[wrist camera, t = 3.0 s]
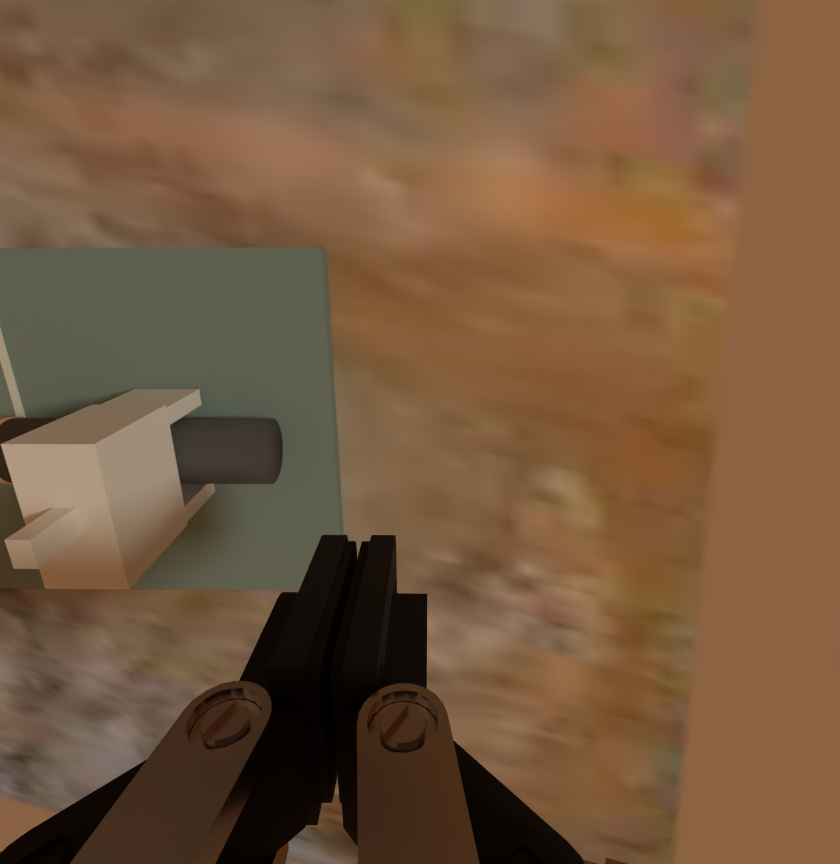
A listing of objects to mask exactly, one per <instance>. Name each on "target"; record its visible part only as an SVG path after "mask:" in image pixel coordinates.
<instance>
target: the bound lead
mask: <svg viewBox="0 0 840 864" xmlns="http://www.w3.org/2000/svg"><path fill="white" fill-rule="evenodd" d="M58 419H60V418H24V417H2V418H0V484H13V483H12V480H11V476H10V473H9V470H8V467H7V463H6V460H5V457H4V454H3V450H2V447H1V444H2V443H4V442H6V441H9V440H11V439H13V438H16V437H18V436H20V435H23V434H25V433H27V432H30V431H32V430H34V429H37V428H39V427H41V426H44V425H46V424H48V423H51V422H53V421H55V420H58ZM170 430H171V435H172V441H173V446H174V452H175V457H176V463H177V468H178V474H179V479H180V484H274V483H275V482H276V481H277V479H278V477H279V474H280V470H281V465H282V456H283V443H282V434H281V430H280V426H279V424H278V422H277V421H276V419H274V418H180V419H179V420H177V421H175V422H174V423H172V424H171V425H170Z"/></svg>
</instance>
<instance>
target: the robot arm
mask: <svg viewBox="0 0 840 864" xmlns="http://www.w3.org/2000/svg"><path fill="white" fill-rule="evenodd" d="M337 774H338V785H339V799H340V803H342V813H343V826H344V829H345V830H346V832H347V833H348V834H349V836H350V837H351V838H352V840H353V841H354V842H355V844H356V845H357V846H358V864H597V863H593V862H590V861H586V860H583V859H582V857H581V856H580V855H579V854H578V853H577V852H576V851H575V849H574V848H573V847H572V846H571V845H570V844H569V843H568V842H567V841H566V840H565V839H564V838H563V837H562V836H561V835H560V834H558V833H557V832H556V831H555V830H554V829H553V828H552V827H550V826H549V825H548V824H547V823H546V822H545V821H544V820H543V819H541V818H540V817H539V816H538V815H537V814H536V813H535V812H534V811H532V810H531V809H530V808H529V807H528V806H527V805H526V804H525V803H523V802H522V801H521V800H520V799H519V798H518V797H517V796H516V795H514V794H513V793H512V792H511V791H510V790H509V789H508V788H507V787H505V786H504V785H503V784H502V783H501V782H500V781H499V780H497V779H496V778H495V777H494V776H493V775H492V774H491V773H490V772H488V771H487V770H486V769H485V768H484V767H483V766H482V765H481V764H479V763H478V762H477V761H476V760H475V759H474V758H473V757H472V756H470V755H469V754H468V753H467V752H466V751H465V750H464V749H463V748H461V747H460V746H459V745H458V744H457V743H456V742H455V741H454V740H453V737H452V733H451V728H450V723H449V719H448V714H447V712H446V709H445V707H444V704H443V702H442V701H441V700H440V699H439V698H438V697H437V695H436V694H435V693H433V692H431V691H430V690H428V689H427V594H398V593H397V572H396V537H395V535H372V536H371V539H370V541H363V542H362V544H361V547H360V551H359V555H358V559H357V548H356V542H355V541H348V538H347V535H322V536H321V538H320V541H319V543H318V546H317V548H316V551H315V553H314V555H313V558H312V560H311V563H310V565H309V567H308V570H307V572H306V575H305V577H304V580H303V582H302V584H301V587H300V589H299V592H283V593H281V594H280V596H279V597H278V599H277V601H276V603H275V606H274V608H273V610H272V612H271V614H270V616H269V618H268V620H267V623H266V625H265V627H264V629H263V631H262V633H261V635H260V638H259V640H258V642H257V644H256V646H255V648H254V650H253V652H252V655H251V657H250V659H249V661H248V663H247V665H246V667H245V670H244V672H243V674H242V676H241V678H240V680H239V681H232V682H228V683H223V684H220V685H217V686H215V687H213V688H211V689H209V690H206V691H205V692H204V693H202V694H201V695H199V696H198V697H196V698H195V699H194V700H193V701H192V702H191V703H190V704H189V705H188V706H187V707H186V708H185V709H184V710H183V712H182V713H181V715H180V716H179V717H178V719H177V720H176V721H175V723H174V724H173V725H172V727H171V728H170V729H169V731H168V732H167V733H166V735H165V736H164V737H163V739H162V740H161V742H160V743H159V744H158V746H157V747H156V748H155V750H154V751H153V752H152V754H151V755H150V756H149V758H148V759H147V760H145V761H144V762H142V763H140V764H139V765H137V766H135V767H134V768H132V769H130V770H129V771H127V772H125V773H124V774H122V775H120V776H119V777H117V778H115V779H114V780H112V781H110V782H109V783H107V784H106V785H104V786H102V787H101V788H99V789H97V790H96V791H94V792H92V793H91V794H89V795H87V796H86V797H84V798H82V799H81V800H79V801H77V802H76V803H74V804H72V805H71V806H69V807H67V808H66V809H64V810H62V811H61V812H59V813H58V814H56V815H54V816H53V817H51V818H49V819H48V820H46V821H44V822H43V823H41V824H39V825H38V826H36V827H34V828H33V829H31V830H29V831H28V832H27V833H25V834H24V835H22V836H21V837H20V838H19V839H17V840H16V841H14V842H13V843H11V844H10V845H9V846H8V847H6V849H4V850H3V851H2V852H0V864H285V862H286V857H287V853H288V849H289V847H288V842H289V841H290V840H291V839H292V838H293V837H294V836H296V835H297V834H298V833H299V832H300V831H301V830H303V829H304V828H305V826H306V825H317V824H318V819H319V814H320V809H321V804H322V803H331V802H332V799H333V795H334V790H335V785H336V780H337ZM605 864H628V863H624V862H621V861H617V860H613V859H610V858H606V860H605Z"/></svg>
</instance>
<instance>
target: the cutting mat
mask: <svg viewBox="0 0 840 864" xmlns="http://www.w3.org/2000/svg"><path fill="white" fill-rule="evenodd" d="M134 389H199V391H200V398H201V404H202V405H200V406H199V407H197V408H196V409H194V410H193V411H191V412H189V413H188V414H186V415H185V416H183V417H182V418H274V419H276V421H277V422H278V424H279V426H280V430H281V434H282V443H283V456H282V465H281V470H280V474H279V477H278V479H277V481H276V482H275V483H274V484H214V487H215V492H214V493H213V495H212V496H211V497H210V498H209V499H208V500H207V501H206V502H205V503H204V504H203V505H202V507H201V508H200V509H199V510H198V511H197V512H196V513H195V514H194V515H193V516H192V518H191V519H190V520H189V521H188V522H187V523H188V525H187V526H186V527H185V528H184V529H183V530H182V532H181V533H180V534H179V535H178V536H177V537H176V538H175V539H174V540H173V541H172V543H171V544H170V545H169V546H168V547H167V548H166V549H165V550H164V551H163V552H162V554H161V555H160V556H159V557H158V558H157V559H156V560H155V561H154V562H153V564H152V565H151V566H150V567H149V568H148V569H147V570H146V571H145V572H144V573H143V575H142V576H141V577H140V578H139V579H138V580H137V581H136V582H135V583H134V585H133V586H132V587H131V588H130V589H233V590H299V589H300V587H301V584H302V582H303V580H304V577H305V575H306V572H307V570H308V567H309V565H310V563H311V560H312V558H313V555H314V553H315V551H316V548H317V546H318V543H319V541H320V538H321V536H322V535H343V520H342V504H341V488H340V472H339V456H338V440H337V424H336V408H335V392H334V377H333V361H332V345H331V329H330V313H329V297H328V281H327V265H326V249H325V248H321V247H298V248H0V418H2V417H24V418H62V417H65V416H67V415H69V414H71V413H74V412H76V411H78V410H81V409H83V408H85V407H88V406H90V405H100V404H102V403H104V402H107V401H109V400H111V399H113V398H116V397H118V396H120V395H123V394H125V393H127V392H129V391H132V390H134ZM25 526H26V525H25V522H24V519H23V515H22V512H21V509H20V506H19V502H18V499H17V496H16V493H15V489H14V486H13V484H0V588H45V587H44V583H43V580H42V577H41V574H40V570H39V569H14V568H13V565H12V562H11V559H10V556H9V553H8V550H7V547H6V544H5V541H4V540H5V539H6V538H8V537H9V536H11V535H12V534H14V533H16V532H17V531H19V530H20V529H22V528H23V527H25Z"/></svg>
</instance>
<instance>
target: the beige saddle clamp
mask: <svg viewBox="0 0 840 864" xmlns="http://www.w3.org/2000/svg"><path fill="white" fill-rule="evenodd" d="M200 405H202V404H201V398H200V391H199V389H134V390H132V391H129V392H127V393H125V394H123V395H120V396H118V397H116V398H113V399H111V400H109V401H107V402H104V403H102V404H100V405H90V406H88V407H85V408H83V409H81V410H78V411H76V412H74V413H71V414H69V415H67V416H65V417H62V418H60V419H58V420H55V421H53V422H51V423H48V424H46V425H44V426H41V427H39V428H37V429H34V430H32V431H30V432H27V433H25V434H23V435H20V436H18V437H16V438H13V439H11V440H9V441H6V442H4V443H2V444H1V447H2V450H3V454H4V457H5V460H6V463H7V467H8V470H9V473H10V476H11V480H12V483H13V486H14V489H15V493H16V496H17V499H18V502H19V506H20V509H21V512H22V515H23V519H24V522H25V525H26V526H25V527H23V528H22V529H20V530H19V531H17V532H16V533H14V534H12V535H11V536H9V537H8V538H6V539H5V540H4V541H5V544H6V547H7V550H8V553H9V556H10V559H11V562H12V565H13V568H14V569H39V570H40V574H41V577H42V580H43V583H44V587H45V589H130V588H131V587H132V586H133V585H134V583H135V582H136V581H137V580H138V579H139V578H140V577H141V576H142V575H143V573H144V572H145V571H146V570H147V569H148V568H149V567H150V566H151V565H152V564H153V562H154V561H155V560H156V559H157V558H158V557H159V556H160V555H161V554H162V552H163V551H164V550H165V549H166V548H167V547H168V546H169V545H170V544H171V543H172V541H173V540H174V539H175V538H176V537H177V536H178V535H179V534H180V533H181V532H182V530H183V529H184V528H185V527H186V526H187V525H188V523H187V522H188V521H189V520H190V519H191V518H192V516H193V515H194V514H195V513H196V512H197V511H198V510H199V509H200V508H201V507H202V505H203V504H204V503H205V502H206V501H207V500H208V499H209V498H210V497H211V496H212V495H213V493H214V492H215V487H214V484H180V479H179V474H178V468H177V463H176V457H175V452H174V446H173V441H172V435H171V430H170V425H171V424H172V423H174V422H175V421H177V420H179V419H180V418H182V417H183V416H185V415H186V414H188V413H189V412H191V411H193V410H194V409H196V408H197V407H199V406H200Z"/></svg>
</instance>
